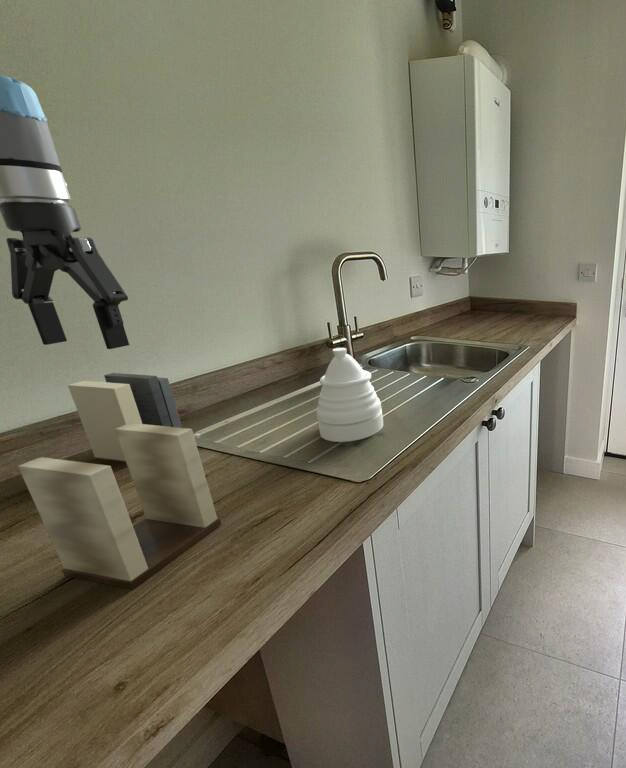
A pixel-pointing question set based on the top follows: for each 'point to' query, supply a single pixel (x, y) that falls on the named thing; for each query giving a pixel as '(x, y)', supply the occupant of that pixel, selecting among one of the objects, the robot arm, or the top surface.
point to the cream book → (104, 414)
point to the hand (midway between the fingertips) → (86, 345)
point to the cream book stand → (108, 512)
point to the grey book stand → (150, 399)
